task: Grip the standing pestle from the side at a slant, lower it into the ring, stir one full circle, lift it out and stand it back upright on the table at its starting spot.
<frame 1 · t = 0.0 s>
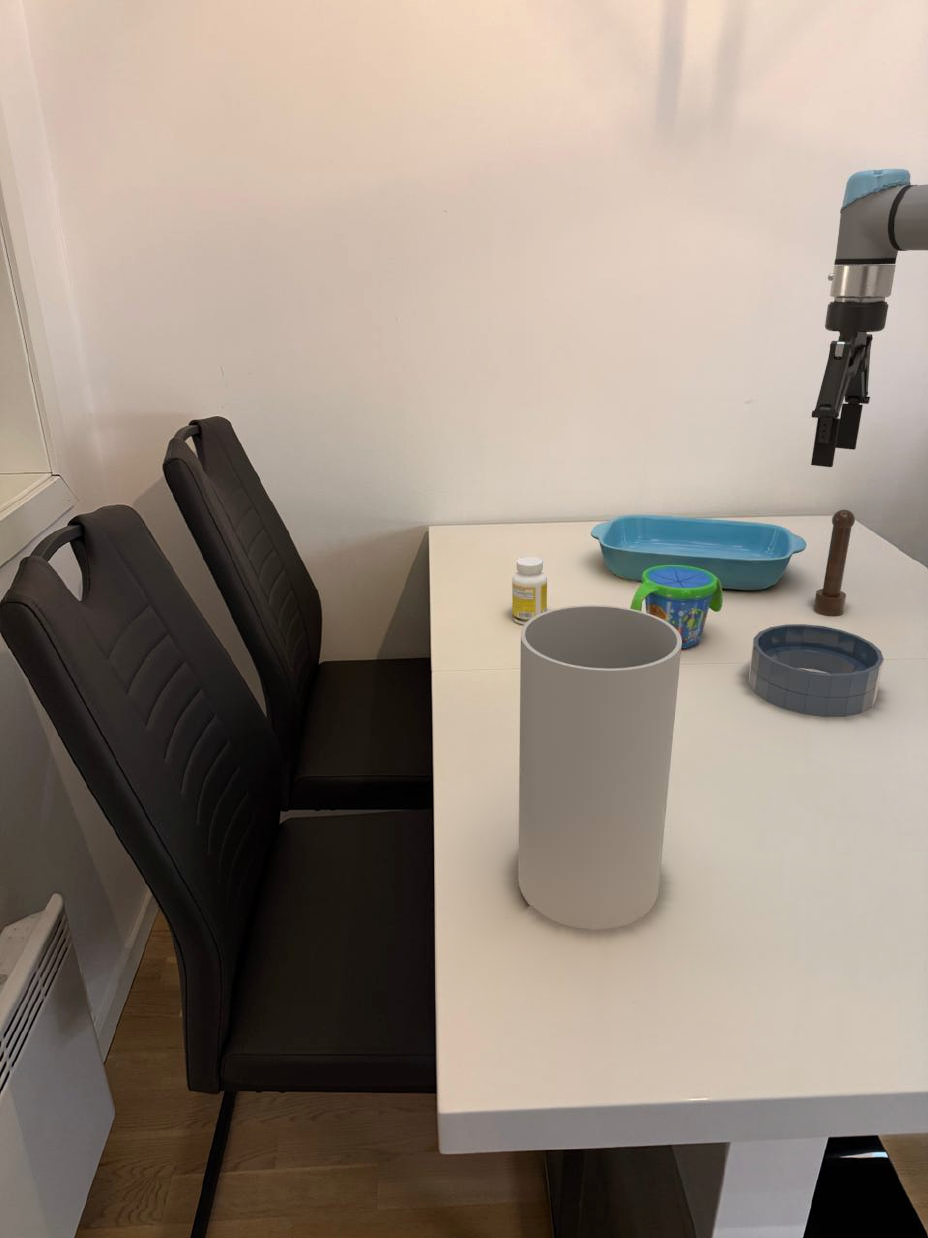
hand: (834, 456, 121), 25 cm above the table, tool pointing down, fingers open, 13 cm apart
snack cup: (673, 641, 124), on the table
ring: (809, 693, 108), on the table
pestle: (828, 610, 134), on the table
casserole dish: (691, 572, 152), on the table
cylinder vase: (587, 888, 76), on the table
supplement bottle: (529, 620, 133), on the table
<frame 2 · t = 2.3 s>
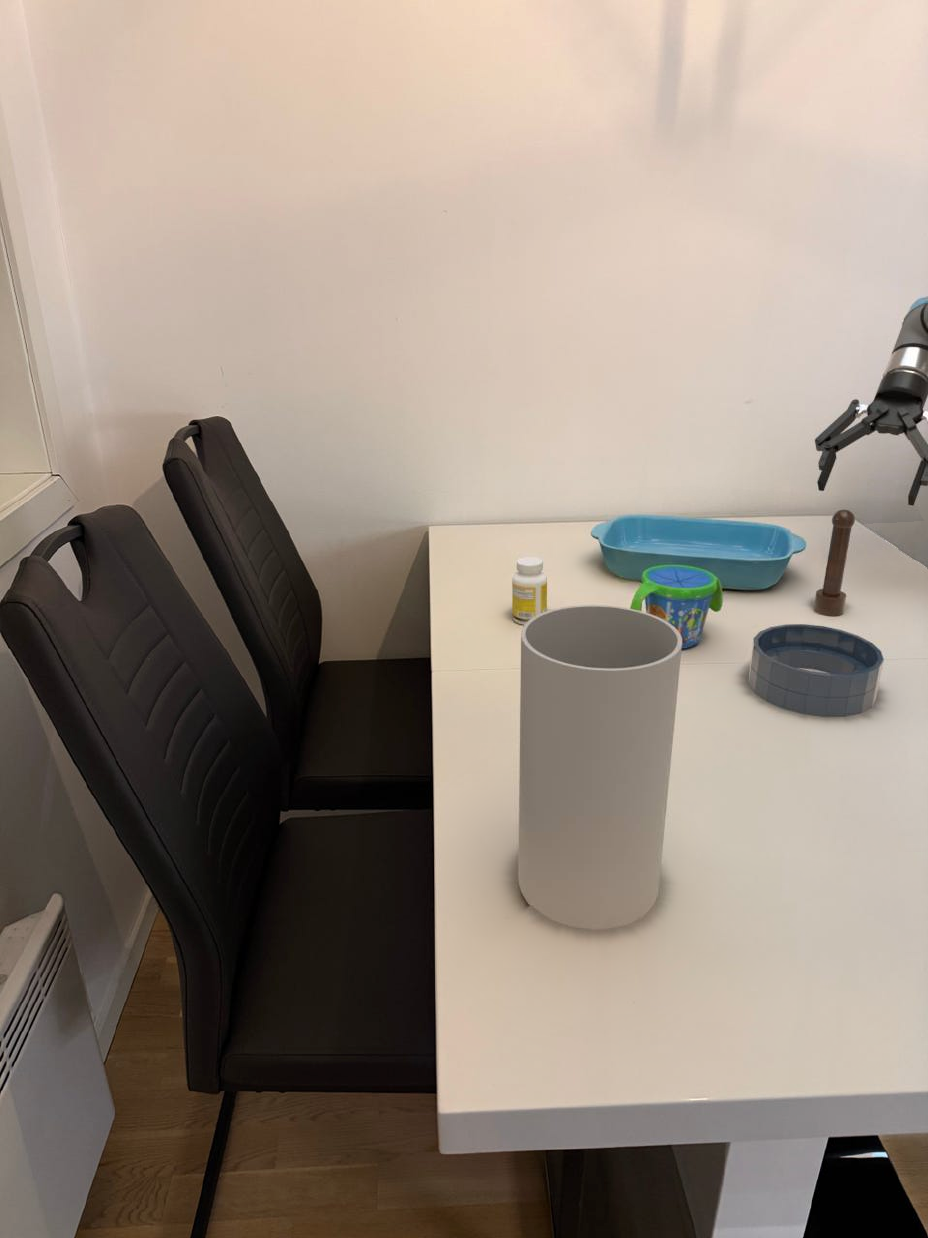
hand: (864, 493, 134), 17 cm above the table, tool tilted 45°, fingers open, 13 cm apart
nothing on the table moved.
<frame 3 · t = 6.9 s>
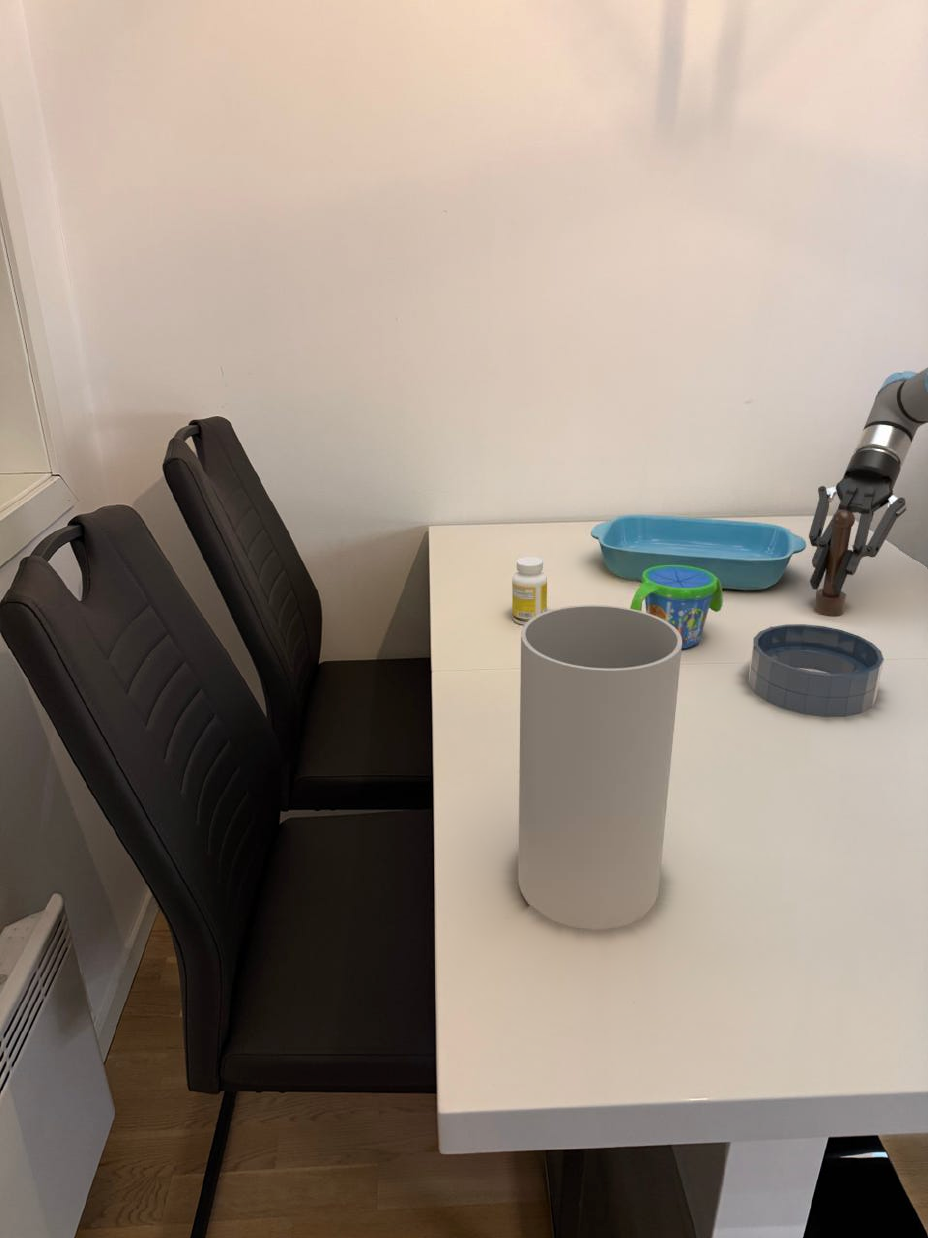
hand: (824, 587, 129), 5 cm above the table, tool tilted 45°, fingers closed on pestle, 3 cm apart
pestle: (828, 610, 134), on the table, touching gripper
everything else where it was.
when the fingers open (5 cm above the table, at t = 26.7 s): pestle stays where it is, on the table.
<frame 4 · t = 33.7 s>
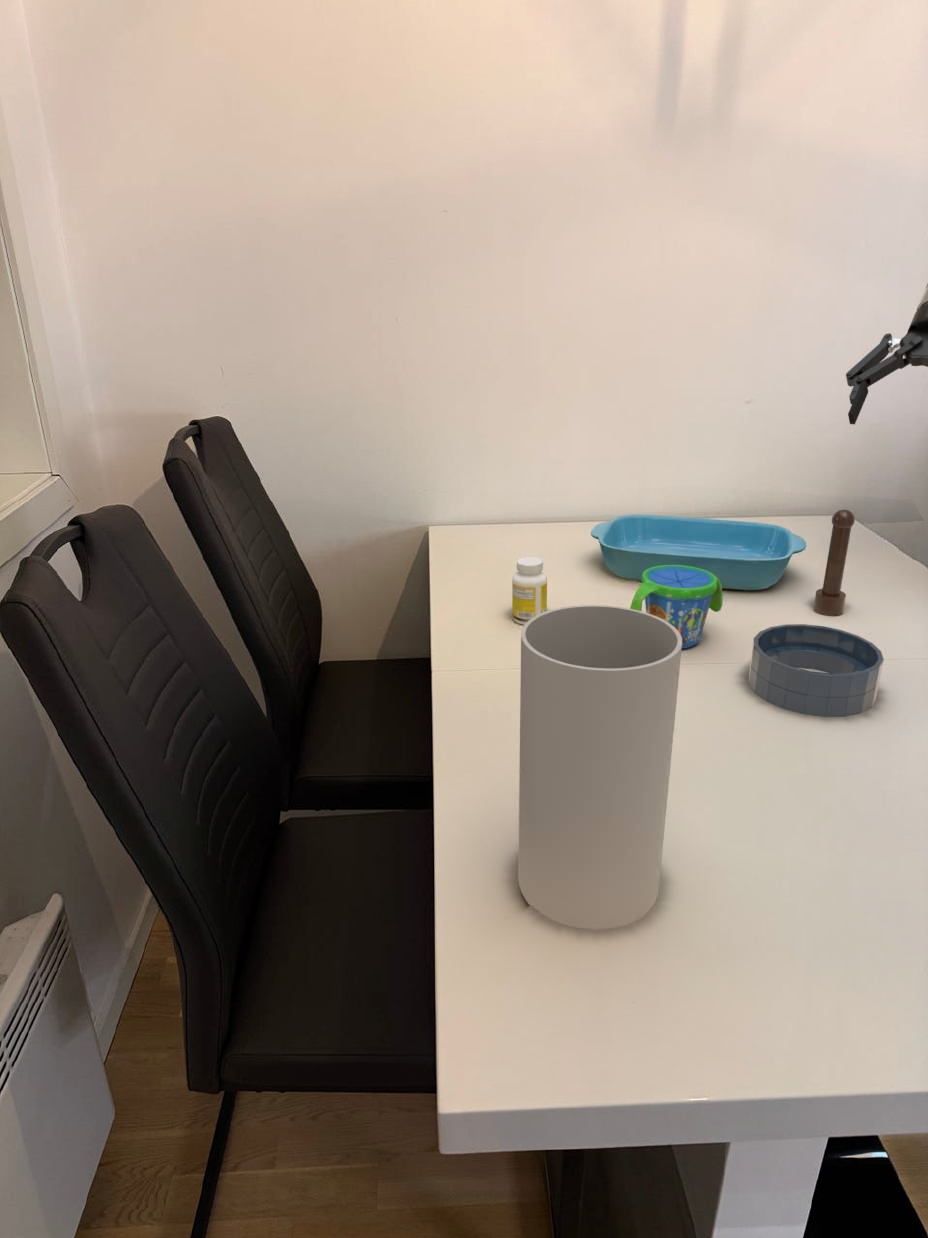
hand: (896, 423, 131), 28 cm above the table, tool tilted 45°, fingers open, 13 cm apart
pestle: (828, 610, 134), on the table
everything else where it was.
at the end: pestle tilted 0°; pestle 0.0 cm from the target spot on the table beside the ring, on the table; the gripper is holding nothing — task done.
